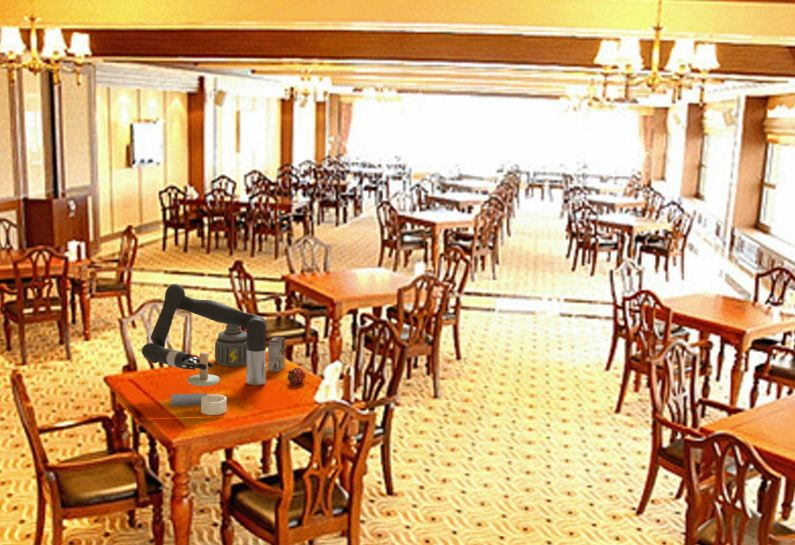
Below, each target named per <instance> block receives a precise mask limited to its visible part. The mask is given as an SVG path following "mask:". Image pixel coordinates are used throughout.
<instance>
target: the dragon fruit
mask: <svg viewBox="0 0 795 545" xmlns="http://www.w3.org/2000/svg"><path fill="white" fill-rule="evenodd" d="M306 377H307V376H306V374H305V371H304V370H303V369H301V367H297V368H295V367H294V368H293V369H292V370H289V371H288V375H287V378H286V379H287V380H288V382H290V383H292V384H293V385H297V384H303V383H304V380H305V378H306Z"/></svg>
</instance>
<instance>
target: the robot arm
mask: <svg viewBox="0 0 795 545" xmlns="http://www.w3.org/2000/svg"><path fill="white" fill-rule="evenodd" d="M176 310H181V311H184V312H188V313H191V314H194V315H197V316H200V317H203V318H205V319H208V320H210V321H213V322H216V323H220V324H225V325H227V324H234V325H238V326H241V328H244V329H246V333H247V364H246V378H245V379H246V380H245V381H246V382H245V383H246V384H247V385H251V386H260V385H266V377H267V374H266V373H267V364H266V362H267V361H266V359H267V358H266V357H267V356H266V354H267V344H266V343H267V342H266V338H267V337H266V336H267V334H266V333H267V328H268V327H267V325H268V324H267V321H266V319H265V318H264V317H263V316H260V315H257V314H252V313H249V312H246V311H241V310H240V309H239V310H240V311H239V310H237V309H235V308H232V306H229V305H227V304H224V303H221V302H220V301H216V300H212V299H211V300H210V299H198V298H197V299H196V298H193V297H190V296H188V295H186V292H185V288H184V287H183V286H181V285H180V284H178V283H176V284H175V283H173V284H171V285H169V286H168V287H167V289H166V290H165V292H164V301H163V305H162V308H161V310H160V313H159V316H158V318H157V319H156V322H155V325H154V327H153V330H152V332H151V335H150V340H151V342H149V343H146V344H144V345H143V346H142V348H141V354H142V356H143V357H144V358H146V359H147V360H148V361H149V362H150V363H152V364H158V363H159V362H160V363H161V364H164V365H168V366H171V367H175V368H178V369H183V370H194V371H195V370H200V369H203V370H206V365H204V364H200V357H196V356H195V357H194V356H193V355H192V354H191V353H189V352H186V351H181V350H174V349H171V348H170V349H169V348H165V346H166V340H167V338H168V335H169V333H170V329H171V326H172V323H173V319H174V316H175V313H176ZM213 365H214V364H213V362H211V361H208V368H213Z"/></svg>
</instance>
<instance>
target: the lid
mask: <svg viewBox="0 0 795 545" xmlns="http://www.w3.org/2000/svg"><path fill="white" fill-rule="evenodd" d="M199 358H200V364H204V365H206V370H203V369H199V373H198V374H195V375H192V376H189V377H188V378H187V383H188V384H190V385H192V386H197V387H210V386H214V385H217V384H219V383H220V380H221V379H220V377H219V376H218V375H215V374H209V367H208V362H209V353H208V352H205V351H204V352H203V351H202V352H200V353H199Z"/></svg>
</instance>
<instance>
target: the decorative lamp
mask: <svg viewBox="0 0 795 545" xmlns="http://www.w3.org/2000/svg"><path fill="white" fill-rule="evenodd" d="M231 307H232V306H231ZM232 308H235V309H237V310H239V311H241V309H240V308H238V307H235V306H233V307H232ZM214 360H215V362H216V364H217V365H219V366H223V367H231V368H232V367H233V368H234V367H237V368H238V367H243V366H247V331H244V330H242V327H241V326H238V325H234V324H226V326H225V329H224V330H223V331H220V332H219V333H218V335H217V338H216V341H215V343H214Z"/></svg>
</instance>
